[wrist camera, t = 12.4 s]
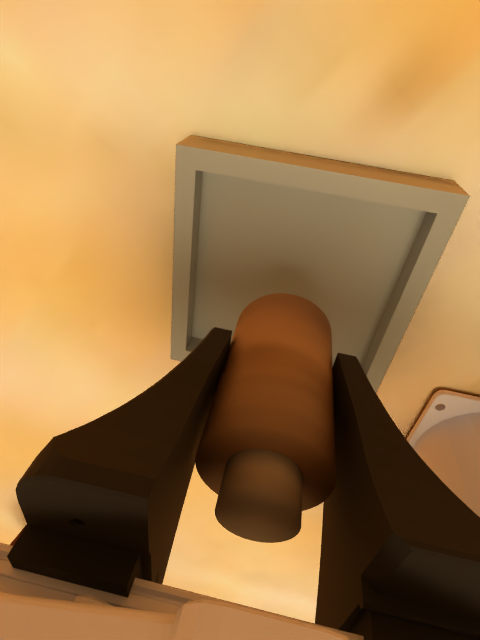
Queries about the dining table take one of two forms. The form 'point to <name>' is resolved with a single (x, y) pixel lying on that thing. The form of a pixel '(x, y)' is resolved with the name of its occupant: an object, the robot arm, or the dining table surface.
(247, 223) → the tray
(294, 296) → the orange bottle
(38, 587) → the robot arm
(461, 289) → the dining table surface
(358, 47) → the dining table surface
